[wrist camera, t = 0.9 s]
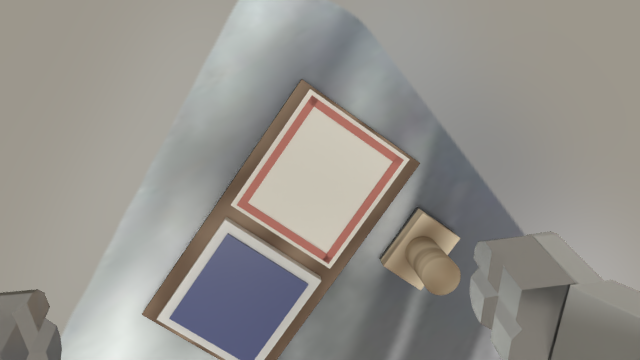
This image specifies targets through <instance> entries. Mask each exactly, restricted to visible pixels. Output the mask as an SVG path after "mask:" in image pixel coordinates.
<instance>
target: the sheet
mask: <svg viewBox="0 0 640 360" xmlns="http://www.w3.org/2000/svg"><path fill="white" fill-rule="evenodd" d="M409 160H410V159H408V158H407V157H406V156H404V155H403V154H401V153H400V152H399V151H397V150H396V149H394V148H393V147H392V146H390V145H389V144H387V143H386V142H384V141H383V140H382V139H380V138H379V137H377V136H376V135H375V134H373V133H372V132H370V131H369V130H368V129H366V128H365V127H363V126H362V125H360V124H359V123H358V122H356V121H355V120H353V119H352V118H351V117H349V116H348V115H346V114H345V113H344V112H342V111H341V110H339V109H338V108H336V107H335V106H334V105H332V104H331V103H329V102H328V101H327V100H325V99H324V98H322V97H321V96H319V95H318V94H317V93H315V92H314V91H312V90H311V89H310V90H309V91H308V93H307V94H306V96H305V97H304V98H303V100H302V101H301V103H300V104H299V106H298V107H297V109H296V110H295V112H294V113H293V115H292V116H291V117H290V119H289V120H288V122H287V123H286V125H285V126H284V128H283V129H282V131H281V132H280V134H279V135H278V136H277V138H276V139H275V141H274V142H273V144H272V145H271V147H270V148H269V150H268V151H267V153H266V154H265V155H264V157H263V158H262V160H261V161H260V163H259V164H258V166H257V167H256V169H255V170H254V172H253V173H252V174H251V176H250V177H249V179H248V180H247V182H246V183H245V185H244V186H243V188H242V189H241V191H240V192H239V193H238V195H237V196H236V198H235V199H234V201H233V202H232V204H231V206H233V207H234V208H236V209H237V210H239V211H240V212H242V213H244V214H245V215H247V216H248V217H250V218H251V219H253V220H254V221H256V222H258V223H259V224H261V225H262V226H264V227H265V228H267V229H268V230H270V231H272V232H273V233H275V234H276V235H278V236H279V237H281V238H283V239H284V240H286V241H287V242H289V243H290V244H292V245H293V246H295V247H297V248H298V249H300V250H301V251H303V252H304V253H306V254H308V255H309V256H311V257H312V258H314V259H315V260H317V261H318V262H320V263H322V264H323V265H325V266H326V267H328V268H329V269H330V268H331V267H332V265H333V264H334V263H335V261H336V260H337V259H338V257H339V256H340V254H341V253H342V252H343V250H344V249H345V248H346V246H347V245H348V243H349V242H350V241H351V239H352V238H353V237H354V235H355V234H356V232H357V231H358V230H359V228H360V227H361V226H362V224H363V223H364V221H365V220H366V219H367V217H368V216H369V215H370V213H371V212H372V210H373V209H374V208H375V206H376V205H377V204H378V202H379V201H380V199H381V198H382V197H383V195H384V194H385V193H386V191H387V190H388V188H389V187H390V186H391V184H392V183H393V182H394V180H395V179H396V177H397V176H398V175H399V173H400V172H401V171H402V169H403V168H404V166H405V165H406V164H407V162H408V161H409Z"/></svg>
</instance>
